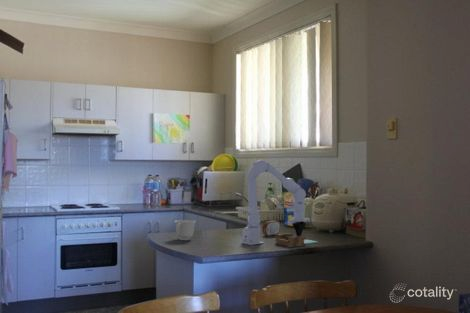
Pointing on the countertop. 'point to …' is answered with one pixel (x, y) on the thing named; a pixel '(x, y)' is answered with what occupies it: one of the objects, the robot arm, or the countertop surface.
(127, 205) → the countertop surface
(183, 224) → the teacup
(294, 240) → the box
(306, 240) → the cover plate
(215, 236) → the countertop surface
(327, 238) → the countertop surface
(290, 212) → the beverage box
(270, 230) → the tin
